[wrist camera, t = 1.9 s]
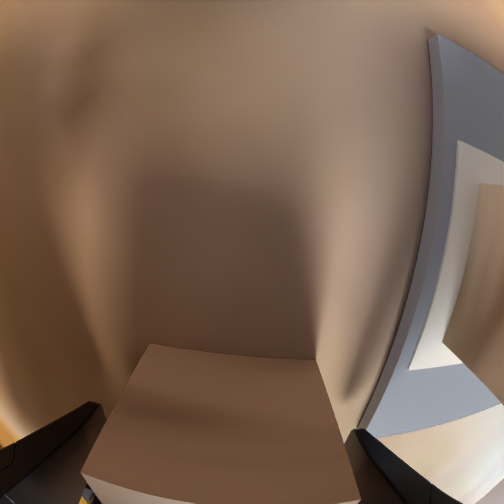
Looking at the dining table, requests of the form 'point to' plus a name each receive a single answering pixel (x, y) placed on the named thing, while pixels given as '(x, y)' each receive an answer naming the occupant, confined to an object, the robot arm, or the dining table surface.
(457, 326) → the beech block
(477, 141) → the board
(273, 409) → the walnut block
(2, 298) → the dining table surface
